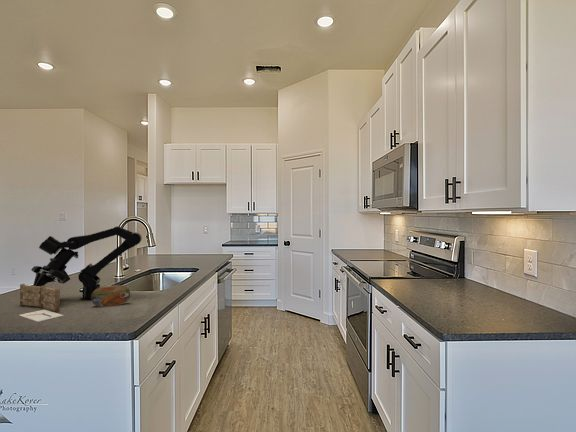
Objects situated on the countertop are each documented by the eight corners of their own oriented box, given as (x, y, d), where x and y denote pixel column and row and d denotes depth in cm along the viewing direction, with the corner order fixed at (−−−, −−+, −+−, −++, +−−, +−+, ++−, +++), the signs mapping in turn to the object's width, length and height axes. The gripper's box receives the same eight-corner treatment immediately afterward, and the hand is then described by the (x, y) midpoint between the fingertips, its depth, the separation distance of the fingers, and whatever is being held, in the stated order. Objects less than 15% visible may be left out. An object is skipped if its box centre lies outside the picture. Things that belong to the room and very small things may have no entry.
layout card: (63, 315, 133) (63, 314, 133) (37, 322, 125) (37, 320, 125) (44, 310, 140) (44, 309, 140) (19, 315, 132) (19, 314, 132)
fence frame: (60, 311, 139) (60, 289, 139) (55, 312, 137) (55, 289, 137) (44, 306, 145) (44, 285, 145) (39, 307, 143) (39, 286, 143)
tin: (90, 307, 145) (91, 287, 145) (91, 306, 148) (91, 286, 148) (130, 304, 152) (130, 285, 152) (129, 302, 155) (130, 283, 155)
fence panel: (43, 305, 145) (43, 285, 145) (38, 306, 143) (39, 286, 143) (22, 303, 147) (22, 283, 147) (18, 304, 146) (18, 284, 145)
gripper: (85, 272, 156) (60, 303, 147) (63, 268, 165) (38, 297, 156) (66, 258, 148) (38, 289, 139) (44, 254, 158) (16, 283, 149)
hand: (33, 290), depth 146 cm, fingers closed
